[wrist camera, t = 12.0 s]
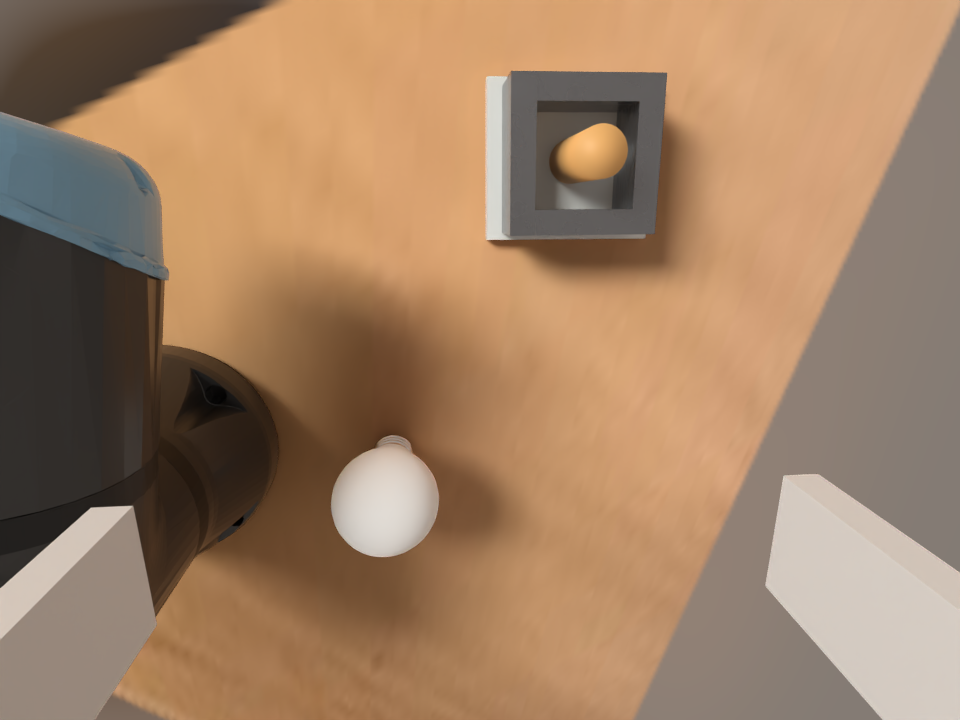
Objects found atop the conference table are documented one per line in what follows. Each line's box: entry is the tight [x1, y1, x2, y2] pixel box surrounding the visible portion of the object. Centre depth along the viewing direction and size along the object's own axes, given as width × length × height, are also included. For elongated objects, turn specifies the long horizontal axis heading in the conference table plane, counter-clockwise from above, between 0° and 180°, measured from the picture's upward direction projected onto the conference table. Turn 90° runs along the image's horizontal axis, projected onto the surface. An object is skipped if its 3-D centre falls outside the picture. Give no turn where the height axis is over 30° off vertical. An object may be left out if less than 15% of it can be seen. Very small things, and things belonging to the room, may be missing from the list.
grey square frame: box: [502, 71, 667, 236], centre depth 34 cm, size 9×9×4 cm
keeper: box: [486, 76, 646, 240], centre depth 33 cm, size 11×10×8 cm
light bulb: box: [331, 435, 439, 557], centre depth 36 cm, size 7×7×11 cm
